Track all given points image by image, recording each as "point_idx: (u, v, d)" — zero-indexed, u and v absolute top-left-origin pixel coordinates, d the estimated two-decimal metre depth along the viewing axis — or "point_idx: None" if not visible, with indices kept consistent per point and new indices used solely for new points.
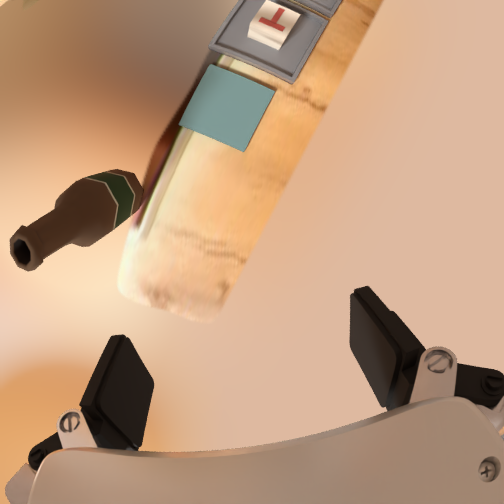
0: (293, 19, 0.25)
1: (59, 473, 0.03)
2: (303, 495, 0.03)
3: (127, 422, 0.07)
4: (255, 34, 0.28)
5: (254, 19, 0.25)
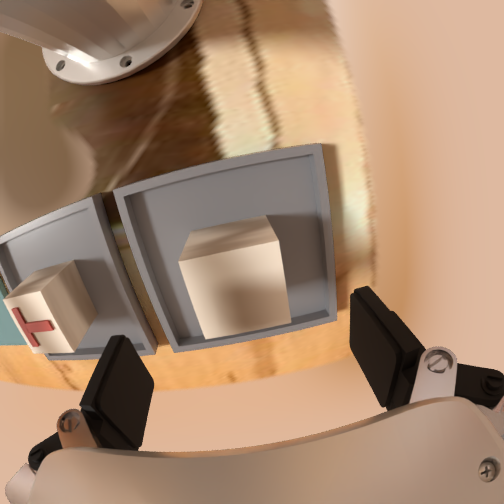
0: (58, 348, 0.15)
1: (59, 473, 0.03)
2: (303, 495, 0.03)
3: (127, 422, 0.07)
4: None
5: (9, 301, 0.13)
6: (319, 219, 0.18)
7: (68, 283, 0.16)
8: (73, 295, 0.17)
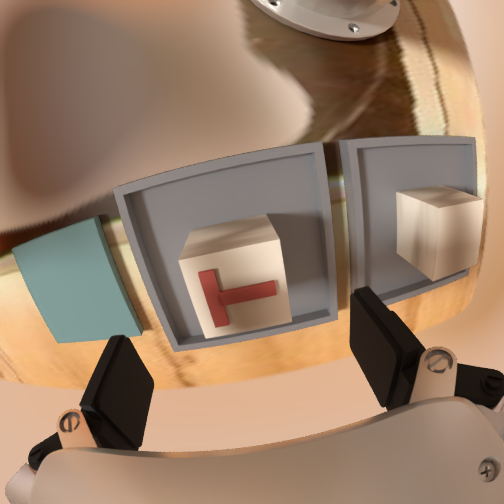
0: (266, 321, 0.15)
1: (59, 473, 0.03)
2: (303, 495, 0.03)
3: (127, 422, 0.07)
4: None
5: (196, 260, 0.13)
6: (468, 192, 0.18)
7: None
8: None
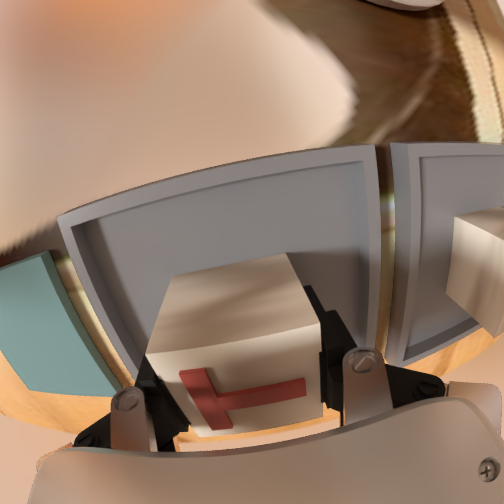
0: (286, 419, 0.09)
1: (59, 473, 0.03)
2: (303, 495, 0.03)
3: None
4: None
5: (175, 356, 0.07)
6: None
7: None
8: None
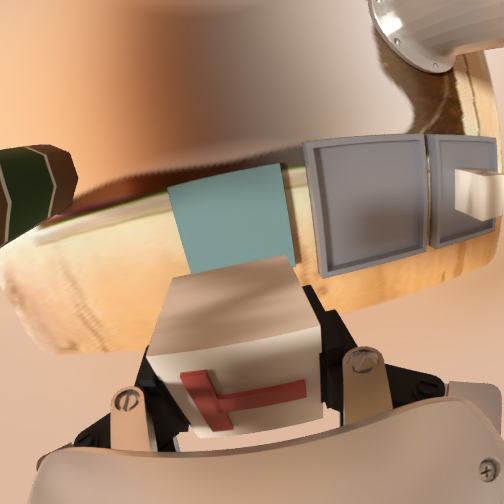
0: (286, 421, 0.09)
1: (59, 473, 0.03)
2: (303, 495, 0.03)
3: None
4: None
5: (175, 358, 0.07)
6: None
7: None
8: None
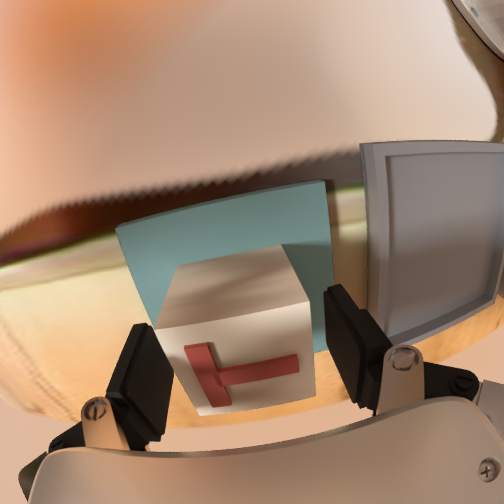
0: (281, 397, 0.10)
1: (59, 473, 0.03)
2: (303, 495, 0.03)
3: (152, 409, 0.08)
4: None
5: (180, 331, 0.08)
6: None
7: None
8: None
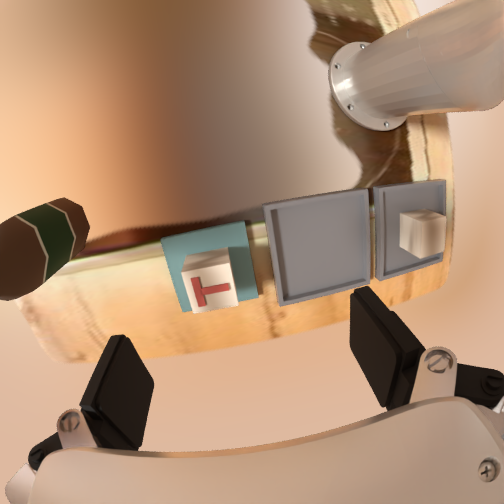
0: (224, 304, 0.29)
1: (59, 473, 0.03)
2: (303, 495, 0.03)
3: (127, 422, 0.07)
4: None
5: (189, 272, 0.27)
6: (440, 212, 0.34)
7: None
8: (231, 269, 0.31)
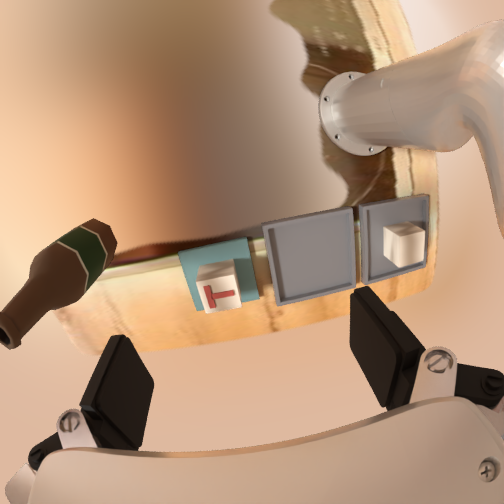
0: (231, 306, 0.36)
1: (59, 473, 0.03)
2: (303, 495, 0.03)
3: (127, 422, 0.07)
4: None
5: (202, 282, 0.34)
6: (423, 223, 0.39)
7: (235, 271, 0.38)
8: (236, 277, 0.38)
